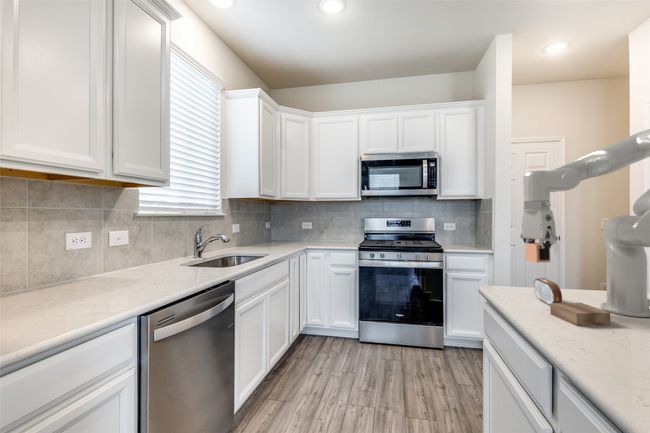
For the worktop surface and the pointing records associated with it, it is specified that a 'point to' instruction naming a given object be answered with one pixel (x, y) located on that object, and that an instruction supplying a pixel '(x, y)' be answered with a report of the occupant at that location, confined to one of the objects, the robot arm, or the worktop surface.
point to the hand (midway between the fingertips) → (537, 258)
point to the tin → (547, 291)
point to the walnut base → (580, 314)
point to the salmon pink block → (534, 252)
